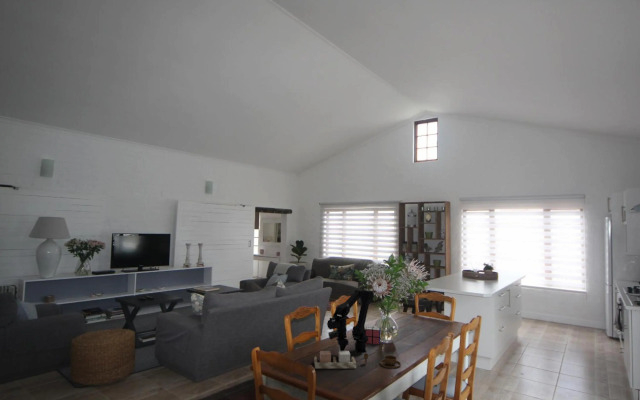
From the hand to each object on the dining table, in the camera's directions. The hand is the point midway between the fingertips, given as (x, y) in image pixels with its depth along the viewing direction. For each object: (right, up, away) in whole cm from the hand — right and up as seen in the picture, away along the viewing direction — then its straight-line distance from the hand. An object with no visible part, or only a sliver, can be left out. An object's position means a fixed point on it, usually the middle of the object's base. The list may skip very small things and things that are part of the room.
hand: (341, 352), depth 225 cm
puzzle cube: (+24, -6, +30) cm, 39 cm away
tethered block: (0, -2, -8) cm, 8 cm away
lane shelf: (-5, -1, -14) cm, 15 cm away
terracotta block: (-10, -1, -15) cm, 18 cm away
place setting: (+25, -3, -10) cm, 27 cm away
